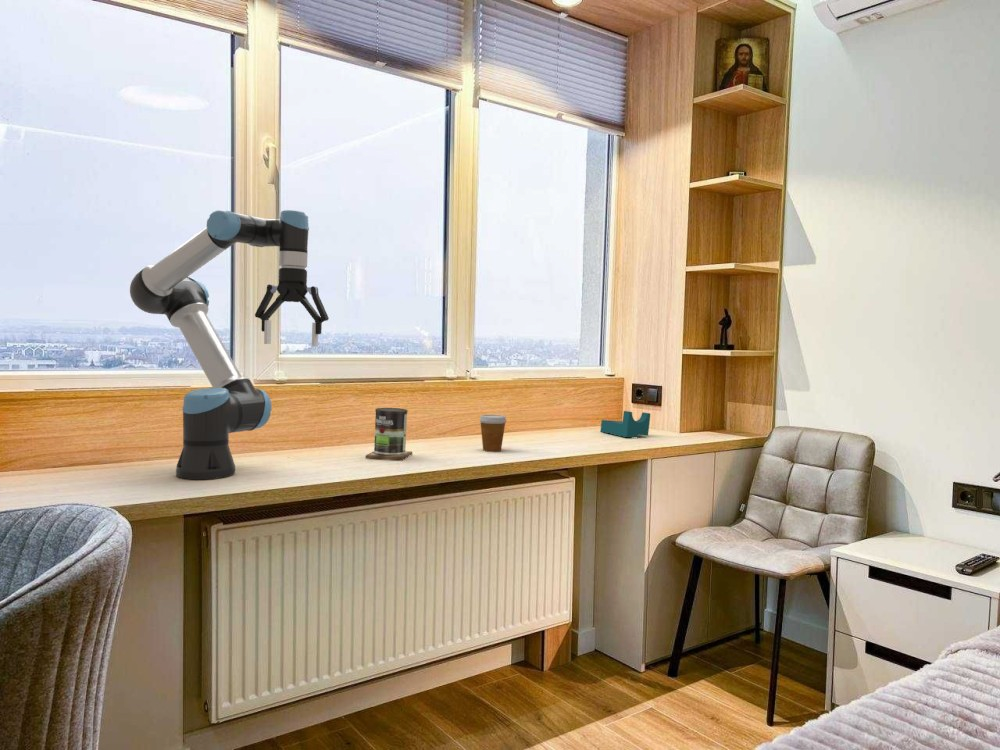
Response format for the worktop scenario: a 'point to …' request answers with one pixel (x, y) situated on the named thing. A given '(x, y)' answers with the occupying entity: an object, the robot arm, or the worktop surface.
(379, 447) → the coffee can
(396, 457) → the trivet
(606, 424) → the teal l-shaped bracket
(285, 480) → the worktop surface
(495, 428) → the disposable coffee cup
